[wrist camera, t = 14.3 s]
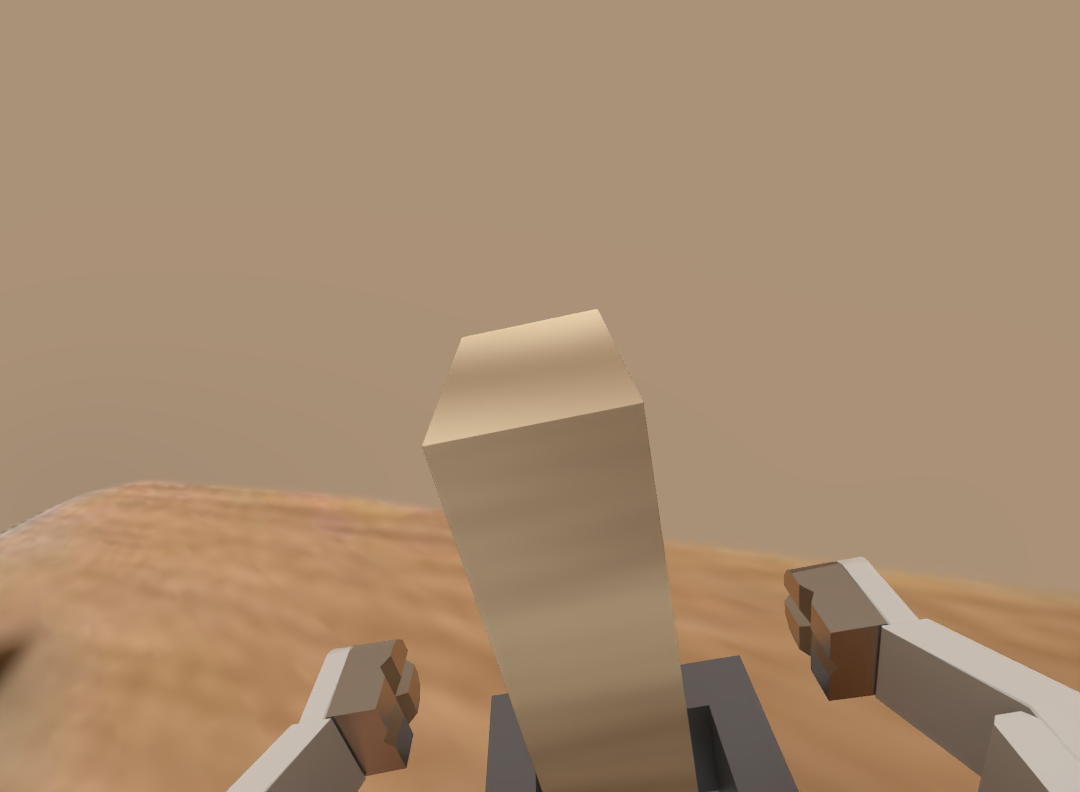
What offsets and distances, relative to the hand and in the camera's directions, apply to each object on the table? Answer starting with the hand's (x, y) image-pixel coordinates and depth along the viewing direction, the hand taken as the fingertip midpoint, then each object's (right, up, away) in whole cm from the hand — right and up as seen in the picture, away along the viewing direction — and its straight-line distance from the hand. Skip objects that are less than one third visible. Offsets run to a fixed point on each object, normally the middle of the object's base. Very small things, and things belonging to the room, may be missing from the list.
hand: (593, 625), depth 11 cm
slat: (+2, -11, +4) cm, 12 cm away
